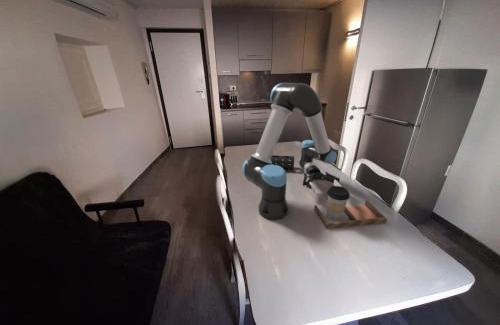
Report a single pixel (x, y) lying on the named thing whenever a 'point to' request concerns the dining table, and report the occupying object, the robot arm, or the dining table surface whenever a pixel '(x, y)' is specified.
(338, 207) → the coffee cup
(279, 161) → the muzzle brake
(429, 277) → the dining table surface
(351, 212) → the divided wooden tray
